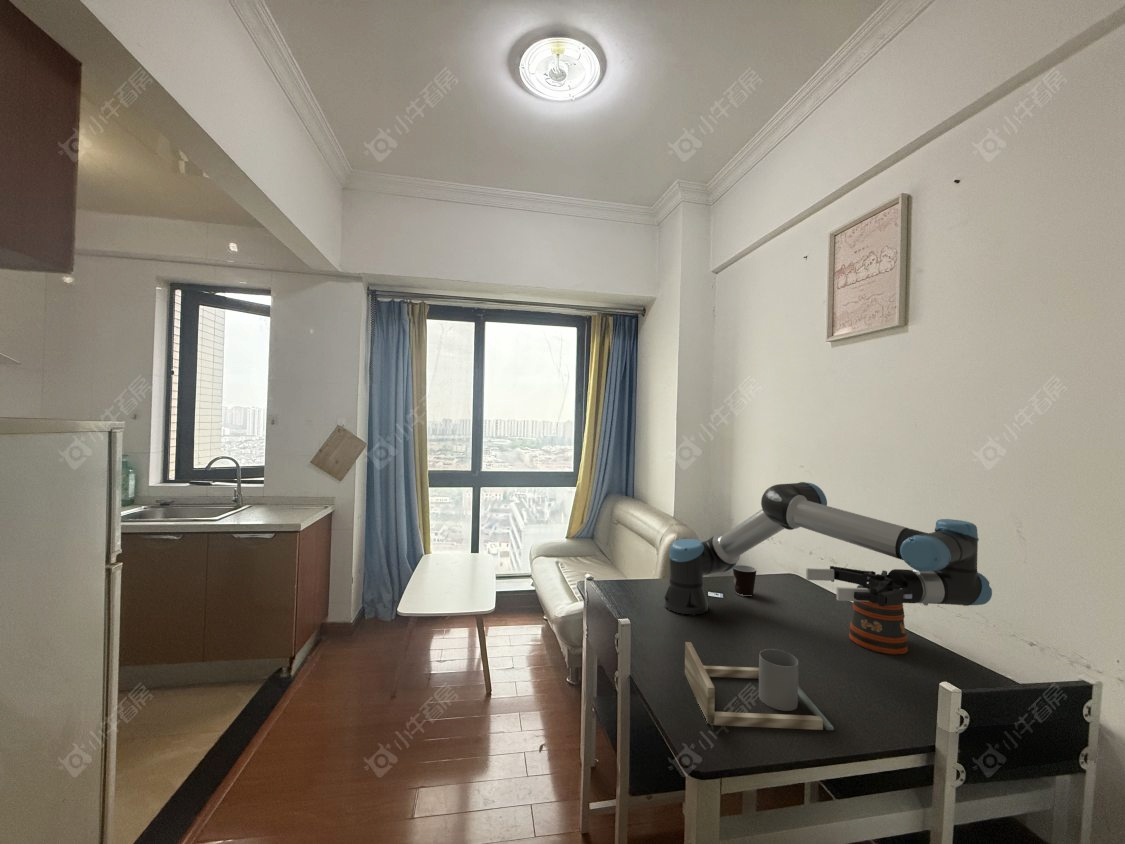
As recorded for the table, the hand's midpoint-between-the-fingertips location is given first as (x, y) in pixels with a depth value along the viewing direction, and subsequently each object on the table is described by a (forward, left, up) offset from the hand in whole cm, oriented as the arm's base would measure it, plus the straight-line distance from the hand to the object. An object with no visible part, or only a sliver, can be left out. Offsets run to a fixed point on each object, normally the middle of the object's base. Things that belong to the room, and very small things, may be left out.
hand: (821, 583), depth 108 cm
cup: (-7, -6, -28) cm, 30 cm away
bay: (-12, -10, -28) cm, 32 cm away
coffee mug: (-40, +60, -28) cm, 77 cm away
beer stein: (+5, +48, -28) cm, 56 cm away
